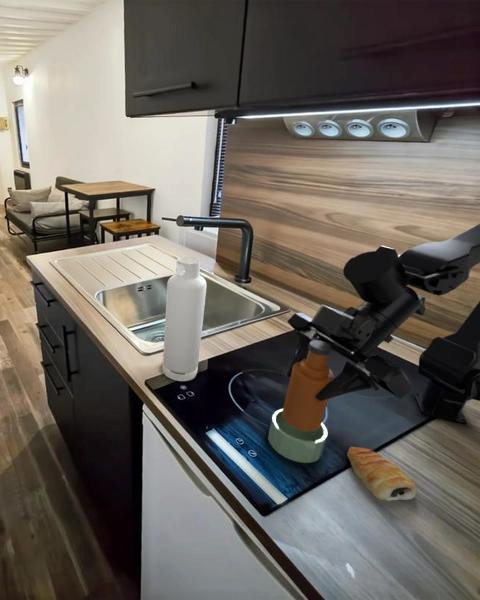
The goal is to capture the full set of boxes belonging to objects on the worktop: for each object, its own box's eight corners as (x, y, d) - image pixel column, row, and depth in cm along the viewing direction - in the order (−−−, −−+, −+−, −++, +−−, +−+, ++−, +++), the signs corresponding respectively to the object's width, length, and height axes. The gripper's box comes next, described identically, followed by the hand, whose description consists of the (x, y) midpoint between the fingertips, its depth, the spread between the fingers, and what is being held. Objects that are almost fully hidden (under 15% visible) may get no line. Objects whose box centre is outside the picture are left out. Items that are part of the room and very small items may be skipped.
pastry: (333, 456, 63) (339, 439, 61) (370, 452, 63) (376, 435, 62) (378, 506, 55) (386, 488, 53) (420, 501, 55) (429, 483, 53)
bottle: (156, 365, 89) (161, 257, 78) (183, 358, 92) (193, 251, 80) (175, 384, 83) (183, 269, 71) (204, 375, 85) (217, 262, 73)
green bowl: (268, 423, 71) (273, 403, 69) (319, 437, 67) (326, 416, 65) (266, 454, 64) (270, 433, 62) (322, 472, 60) (329, 450, 58)
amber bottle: (282, 403, 66) (298, 332, 60) (319, 413, 64) (341, 339, 57) (281, 424, 62) (299, 350, 56) (321, 435, 59) (344, 359, 53)
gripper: (306, 269, 62) (240, 335, 64) (424, 317, 45) (328, 404, 48) (334, 303, 67) (272, 364, 69) (449, 359, 50) (361, 436, 53)
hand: (302, 387), depth 60 cm, fingers closed on amber bottle, 6 cm apart
